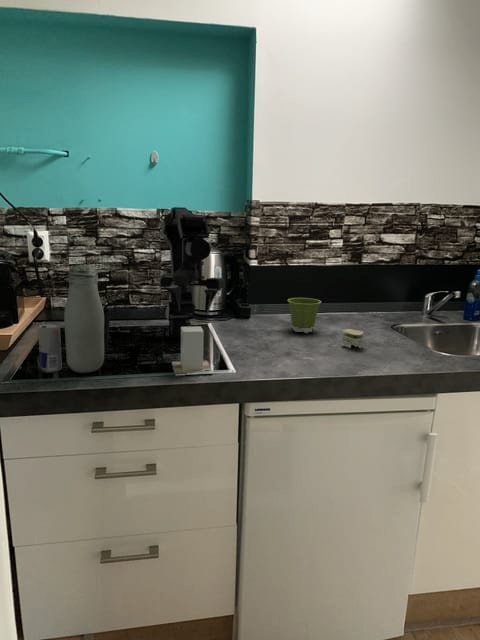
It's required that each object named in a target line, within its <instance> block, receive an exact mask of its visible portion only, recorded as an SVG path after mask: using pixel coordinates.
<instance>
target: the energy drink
mask: <svg viewBox="0 0 480 640" xmlns="http://www.w3.org/2000/svg"><path fill="white" fill-rule="evenodd" d="M37 333H38V346H39V348H38V349H39V363H40V365H39V366H40V370H41V372H42V373H50V374H51V373H56V372H57V373H58V372H60V371H61V370H62V369H63V363H62V362H63V360H62V359H63V358H62V342H61V339H62V338H61V327H60V325H59V324H58V323H43V324H40V325H38V331H37Z"/></svg>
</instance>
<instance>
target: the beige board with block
mask: <svg viewBox="0 0 480 640" xmlns="http://www.w3.org/2000/svg"><path fill="white" fill-rule="evenodd" d="M171 366H173V367H172V370H174V371H173V374H174V373H175V375H176V374H177V375H178V374H187V373H194V372H198V371H205V370H210V371H211V372H212V371H213V370H212V367H211V365H210V363H209V361H208V360H206V359H205V360H203V370H183V369H182V366H181V360H180V361H171ZM175 375H174V376H175Z"/></svg>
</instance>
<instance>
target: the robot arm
mask: <svg viewBox="0 0 480 640" xmlns="http://www.w3.org/2000/svg"><path fill="white" fill-rule="evenodd" d="M161 232H162V235H163V238H164V242H165V243H166V245H167V246H168V247H169V252H170V253H169V254H170V268H171V270H170V271H171V275H167V276H162V277H161V278H160V280H159V286H160V287H161V288H163V290H165V291H166V290H167V292H168V293H169V294H170V295H169V297H168V301H167V302H166V303H167V305H166V309H165V318H166V319H167V320H168V334H167V335H166V338H169V337H173V338H172V339H176V338H181V327H192V323H191V320H194V319H195V311H196V305H195V302H194V301H193V296H192V295H193V294H192V291H189V290H188V288H187V287H189V286H193V287H194V286H195V287H197V286H198V287H205V288H207V289H204V294H205V306H204V311H205V313H206V314H207V313H209V311H210V310H211V309H210V308H211V306H212V304H213V301H214V299H215V297H216V295H217V294H218V292H219V291H222V289H224V288H226V279H225V278H223V277H209V278H206V279H205V276H204V275H203V266H205V262H204V261H203V260H206V259H207V258H208V257H209V256H210V253H211V250H212V249H211V245H210V244H209V242H208V241H207V240H206V239H209V238H210V229H209V226H208V222H207V220H206V218H205V217H204V214H198V213H197V214H193V213H192V212H190V211H189V210H188V208H187V207H184V206H183V207H182V206H181V207H177V206H174V207H171V209H170V212H169V213H167V214H166V215H165V216H164V217H163V219H162V224H161Z"/></svg>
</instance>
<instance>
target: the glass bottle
mask: <svg viewBox="0 0 480 640" xmlns="http://www.w3.org/2000/svg"><path fill="white" fill-rule="evenodd" d="M67 280H68V283H69V284H68V285H69V289H68V293H67V294H68V295H67V298H66V303H65V307H64V311H63V312H64V314H63V319H64V321H63V322H64V338H65V340H64V341H65V351H66V352H65V353H66V364H67V365H68V367H69V368H70V369H71V370H72V371H73V372H75V373H79V374H89V373H93V372H96V371H98V370H99V369H101V367H102V366H103V364H104V362H105V361H104V360H105V352H104V311H103V309H104V308H103V305H102V301H101V297H100V294H99V288H98V283H99V276H98V270H97V269H96V268H95V267H92V265H77V266H75V267H72V268H71V269H69V270H68V278H67Z"/></svg>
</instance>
